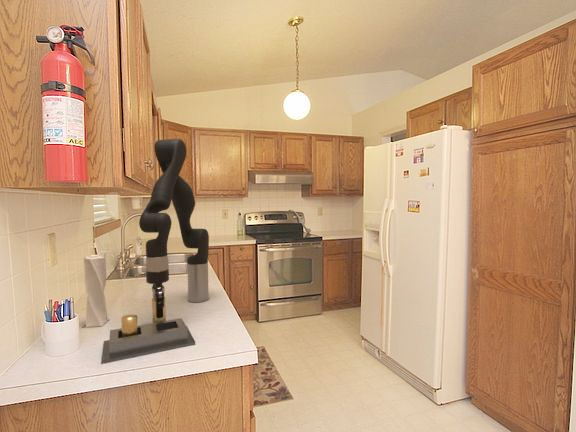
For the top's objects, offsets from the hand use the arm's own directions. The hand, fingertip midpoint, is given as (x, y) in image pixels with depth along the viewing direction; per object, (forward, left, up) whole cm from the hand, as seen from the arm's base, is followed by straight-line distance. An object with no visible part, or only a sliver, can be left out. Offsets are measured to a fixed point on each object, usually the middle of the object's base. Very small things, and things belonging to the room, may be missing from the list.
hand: (159, 315), depth 116 cm
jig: (+12, -4, -5) cm, 14 cm away
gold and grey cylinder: (0, 0, -3) cm, 3 cm away
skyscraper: (-16, -20, -5) cm, 26 cm away
